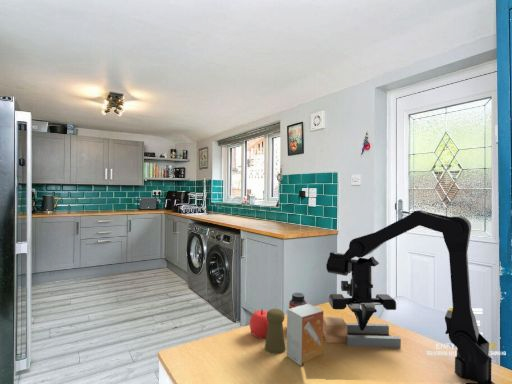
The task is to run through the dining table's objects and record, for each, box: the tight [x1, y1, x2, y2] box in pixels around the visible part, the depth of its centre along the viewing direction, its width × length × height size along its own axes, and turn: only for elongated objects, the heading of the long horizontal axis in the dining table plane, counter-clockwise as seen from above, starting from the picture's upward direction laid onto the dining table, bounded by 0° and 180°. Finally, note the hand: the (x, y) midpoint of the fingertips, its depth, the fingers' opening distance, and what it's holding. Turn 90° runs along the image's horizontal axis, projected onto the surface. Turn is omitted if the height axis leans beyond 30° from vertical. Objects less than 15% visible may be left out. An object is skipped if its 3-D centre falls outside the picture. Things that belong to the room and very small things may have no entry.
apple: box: [248, 309, 269, 339], centre depth 93 cm, size 8×8×8 cm
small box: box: [286, 303, 325, 367], centre depth 81 cm, size 8×6×13 cm
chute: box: [345, 322, 402, 349], centre depth 89 cm, size 15×10×4 cm, turn 88°
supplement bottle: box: [288, 292, 308, 309], centre depth 98 cm, size 6×6×11 cm
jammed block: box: [323, 316, 348, 344], centre depth 90 cm, size 6×6×5 cm
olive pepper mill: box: [264, 308, 287, 355], centre depth 85 cm, size 6×6×11 cm
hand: (361, 329), depth 89 cm, fingers closed
